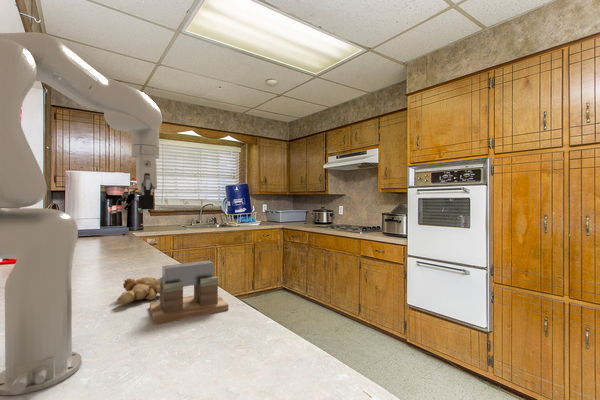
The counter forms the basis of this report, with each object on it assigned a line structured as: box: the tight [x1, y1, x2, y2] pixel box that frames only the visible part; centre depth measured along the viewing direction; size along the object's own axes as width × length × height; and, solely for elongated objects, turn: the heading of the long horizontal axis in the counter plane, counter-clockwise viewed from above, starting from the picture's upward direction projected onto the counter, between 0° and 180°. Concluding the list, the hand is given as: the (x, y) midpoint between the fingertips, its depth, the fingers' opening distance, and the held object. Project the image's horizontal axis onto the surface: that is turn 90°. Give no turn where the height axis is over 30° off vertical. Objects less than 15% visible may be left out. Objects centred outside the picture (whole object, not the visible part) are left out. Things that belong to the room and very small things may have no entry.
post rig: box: [149, 276, 229, 325], centre depth 90 cm, size 14×20×10 cm
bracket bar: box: [161, 259, 215, 288], centre depth 90 cm, size 4×14×6 cm, turn 125°
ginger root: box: [116, 276, 160, 304], centre depth 100 cm, size 16×16×8 cm
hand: (145, 208), depth 90 cm, fingers open, 9 cm apart
